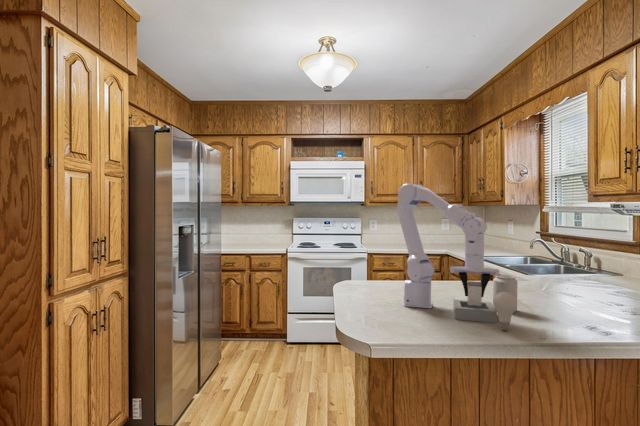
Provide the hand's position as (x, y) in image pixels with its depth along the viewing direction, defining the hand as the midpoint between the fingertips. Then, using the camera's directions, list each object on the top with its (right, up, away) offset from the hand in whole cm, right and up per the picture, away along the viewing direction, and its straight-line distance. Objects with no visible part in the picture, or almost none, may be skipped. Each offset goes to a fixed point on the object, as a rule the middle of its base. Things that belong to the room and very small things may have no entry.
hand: (473, 296), depth 119 cm
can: (+14, -7, +7) cm, 17 cm away
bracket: (0, -2, 0) cm, 2 cm away
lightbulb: (+3, -7, -15) cm, 16 cm away
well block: (0, -6, 0) cm, 6 cm away
